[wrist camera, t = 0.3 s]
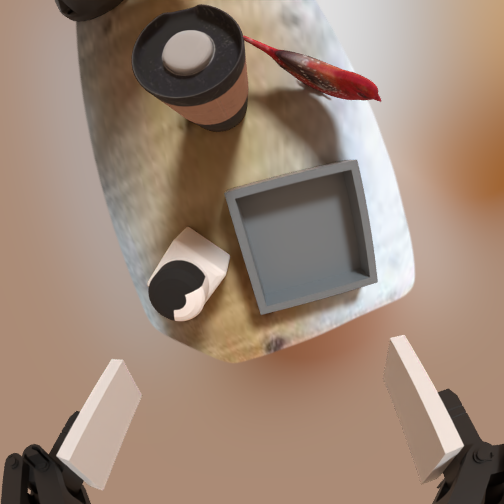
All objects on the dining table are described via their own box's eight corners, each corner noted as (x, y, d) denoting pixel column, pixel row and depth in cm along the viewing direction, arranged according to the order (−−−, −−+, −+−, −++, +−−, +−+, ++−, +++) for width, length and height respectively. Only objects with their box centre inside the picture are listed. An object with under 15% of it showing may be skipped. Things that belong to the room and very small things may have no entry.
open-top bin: (227, 189, 37) (224, 193, 32) (345, 160, 35) (357, 159, 31) (260, 299, 41) (260, 314, 37) (365, 270, 40) (377, 282, 36)
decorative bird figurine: (353, 120, 34) (385, 108, 24) (233, 60, 31) (227, 29, 22) (361, 103, 33) (394, 87, 23) (243, 44, 31) (240, 9, 21)
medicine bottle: (161, 265, 40) (130, 303, 28) (187, 225, 38) (161, 251, 27) (203, 293, 41) (187, 340, 29) (231, 254, 39) (223, 292, 28)
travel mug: (225, 145, 35) (194, 123, 16) (178, 113, 34) (108, 70, 14) (261, 99, 33) (270, 34, 14) (213, 69, 32) (179, -11, 13)
